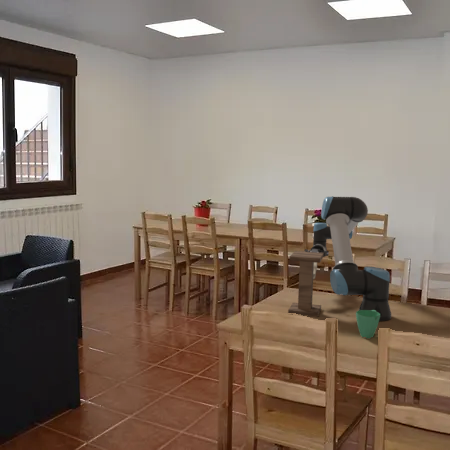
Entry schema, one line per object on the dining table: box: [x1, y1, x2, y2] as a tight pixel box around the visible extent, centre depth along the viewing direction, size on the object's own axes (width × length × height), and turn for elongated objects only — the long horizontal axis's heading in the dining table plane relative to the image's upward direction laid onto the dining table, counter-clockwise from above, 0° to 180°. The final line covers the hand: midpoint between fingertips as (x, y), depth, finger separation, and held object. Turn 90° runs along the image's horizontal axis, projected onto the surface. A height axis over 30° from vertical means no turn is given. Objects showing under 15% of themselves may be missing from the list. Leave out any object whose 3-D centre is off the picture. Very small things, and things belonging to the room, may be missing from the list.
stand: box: [287, 250, 325, 318], centre depth 264 cm, size 16×14×28 cm
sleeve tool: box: [311, 249, 318, 280], centre depth 285 cm, size 22×5×3 cm, turn 165°
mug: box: [355, 309, 380, 339], centre depth 232 cm, size 15×10×10 cm
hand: (313, 255), depth 286 cm, fingers closed on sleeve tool, 3 cm apart
